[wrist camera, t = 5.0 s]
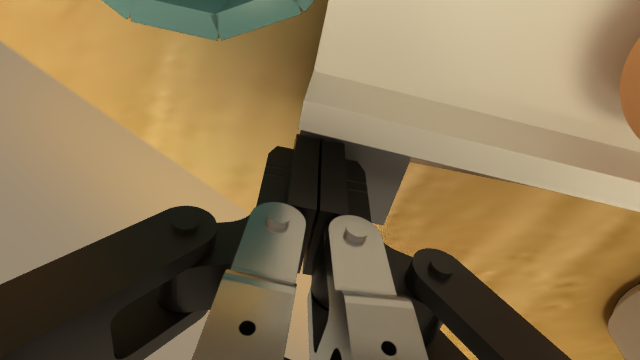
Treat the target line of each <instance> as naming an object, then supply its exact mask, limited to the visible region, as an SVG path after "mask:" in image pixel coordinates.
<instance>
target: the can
mask: <svg viewBox="0 0 640 360" xmlns="http://www.w3.org/2000/svg"><path fill="white" fill-rule="evenodd" d="M608 332H609V334H610V336H611V337H612V339H613V340H614V342H615V344H616V345H617V347H618V348H619V350H620V352H621V353H622V355H623V357H624V358H625V360H640V284H639V285H637V286H635V287H634V288H632V289H630V290H629V291H628V292H627V293H626V294H625V295H623V296H622V297H621V298H620V299H619V301H618V303H617V304H616V306H615V308H614V312H613V314H612V316H611V318H610V319H609V321H608Z"/></svg>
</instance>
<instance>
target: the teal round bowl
mask: <svg viewBox="0 0 640 360" xmlns="http://www.w3.org/2000/svg"><path fill="white" fill-rule="evenodd" d="M102 1H103V2H105V3H106V4H107V5H108V6H110V7H111V8H112V9H114V10H115V11H116V12H118V13H119V14H120V15H121V16H123V17H124V18H125V19H128V18H130V17H131V22H135V23H140V24H144V25H149V26H153V27H158V28H162V29H167V30H171V31H176V32H180V33H185V34H189V35H194V36H198V37H203V38H207V39H212V40H216V41H218V39H219V38H221V40H225V39H228V38H231V37H234V36H237V35H240V34H243V33H246V32H249V31H252V30H255V29H258V28H261V27H264V26H267V25H270V24H273V23H276V22H279V21H282V20H285V19H288V18H291V17H294V16H297V15H300V14H301V13H302V9H303V10H304V11H306V10H307V9H308V7H309V6H310V5H311V4H312V3H313V1H314V0H102Z"/></svg>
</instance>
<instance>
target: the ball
mask: <svg viewBox="0 0 640 360" xmlns="http://www.w3.org/2000/svg"><path fill="white" fill-rule="evenodd" d="M620 101H621V107H622V110H623V113H624V116H625V119H626V121H627V123H628V124H629V126H630V128H631V129H632V131H633V132H634V133H635V135H636V136H637V137H638V138H639V139H640V37H639V39H638V40H637V41H636V43H635V44H634V46H633V48H632V49H631V51H630V53H629V55H628V57H627V59H626V62H625V64H624V67H623V71H622V75H621V81H620Z"/></svg>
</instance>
